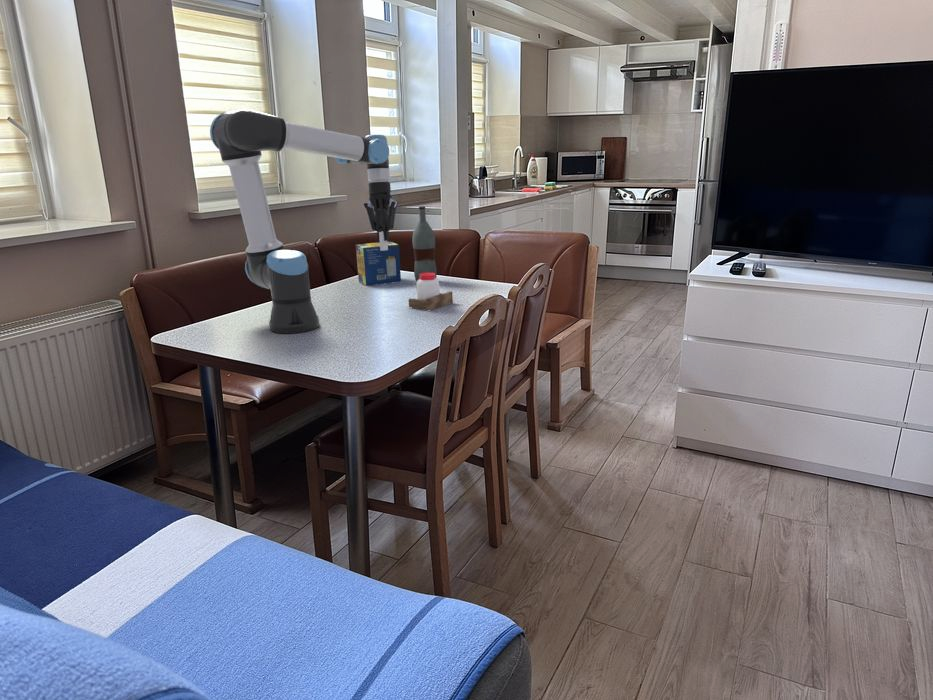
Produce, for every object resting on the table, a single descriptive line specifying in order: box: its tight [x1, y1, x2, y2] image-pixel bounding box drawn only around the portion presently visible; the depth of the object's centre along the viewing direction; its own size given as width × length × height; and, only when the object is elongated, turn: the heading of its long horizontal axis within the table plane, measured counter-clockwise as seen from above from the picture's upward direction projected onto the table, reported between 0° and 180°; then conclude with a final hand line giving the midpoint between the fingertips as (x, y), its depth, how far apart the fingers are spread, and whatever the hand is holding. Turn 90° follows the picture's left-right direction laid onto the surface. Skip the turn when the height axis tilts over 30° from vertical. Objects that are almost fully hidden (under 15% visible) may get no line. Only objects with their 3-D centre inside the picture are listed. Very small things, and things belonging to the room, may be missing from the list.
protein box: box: [355, 240, 402, 287], centre depth 269 cm, size 10×15×16 cm
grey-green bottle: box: [411, 206, 438, 283], centre depth 263 cm, size 9×9×30 cm
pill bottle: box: [415, 273, 441, 300], centre depth 225 cm, size 8×8×11 cm
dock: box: [408, 290, 454, 311], centre depth 226 cm, size 13×9×4 cm
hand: (384, 250), depth 233 cm, fingers closed
